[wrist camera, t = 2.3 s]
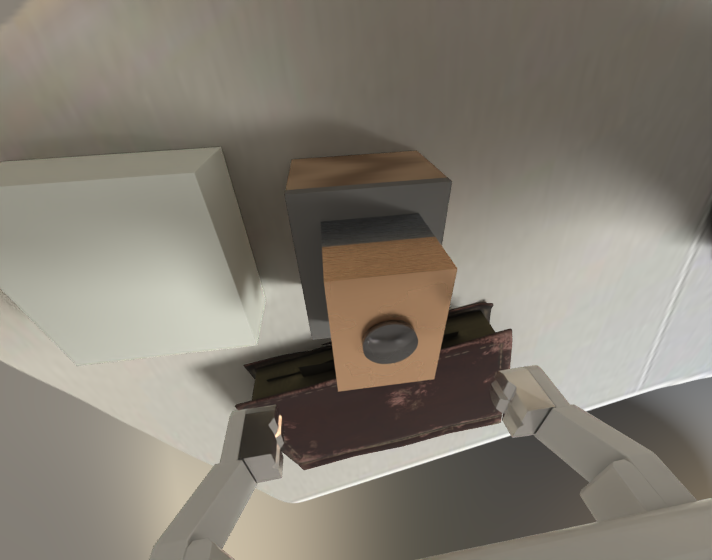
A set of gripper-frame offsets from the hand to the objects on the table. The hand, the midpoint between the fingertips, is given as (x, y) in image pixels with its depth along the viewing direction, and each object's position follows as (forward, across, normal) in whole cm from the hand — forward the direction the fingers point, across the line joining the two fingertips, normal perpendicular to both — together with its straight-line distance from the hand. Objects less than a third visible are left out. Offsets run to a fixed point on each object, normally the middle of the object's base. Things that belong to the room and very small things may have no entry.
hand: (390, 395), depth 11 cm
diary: (+14, -3, +20) cm, 25 cm away
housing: (+8, -1, 0) cm, 8 cm away
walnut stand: (+14, -1, 0) cm, 14 cm away
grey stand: (+14, +13, 0) cm, 19 cm away
